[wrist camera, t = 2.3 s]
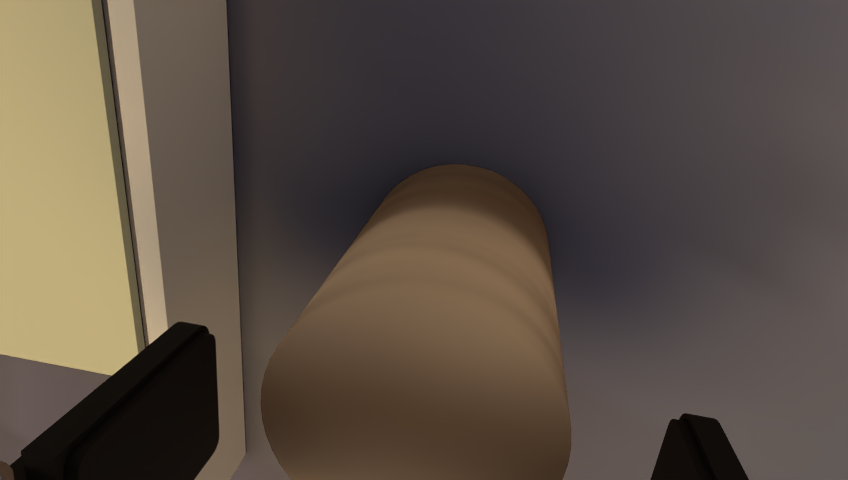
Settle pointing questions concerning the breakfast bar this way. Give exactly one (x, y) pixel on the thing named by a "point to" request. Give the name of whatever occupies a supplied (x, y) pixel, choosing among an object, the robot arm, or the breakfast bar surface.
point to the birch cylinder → (428, 345)
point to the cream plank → (184, 184)
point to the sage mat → (63, 193)
